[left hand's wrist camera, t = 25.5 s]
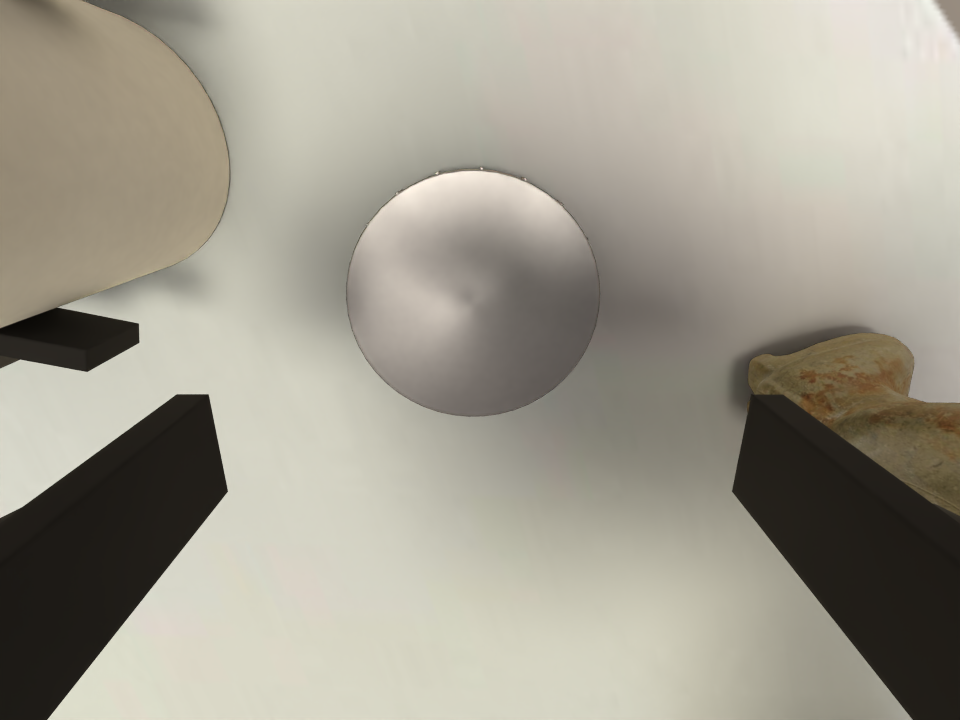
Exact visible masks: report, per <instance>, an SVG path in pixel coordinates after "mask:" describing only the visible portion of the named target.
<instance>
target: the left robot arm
mask: <svg viewBox="0 0 960 720" xmlns="http://www.w3.org/2000/svg"><path fill="white" fill-rule="evenodd" d="M227 492H228V490H227V485H226V480H225V474H224V469H223V464H222V459H221V454H220V449H219V444H218V439H217V434H216V429H215V424H214V419H213V414H212V409H211V404H210V399H209V394H177V395H175V396H174V397H173V398H171V399H170V400H169V401H167V402H166V403H165V404H163V405H162V406H160V407H159V408H158V409H156V410H155V411H154V412H152V413H151V414H149V415H148V416H147V417H145V418H144V419H143V420H141V421H140V422H138V423H137V424H136V425H134V426H133V427H132V428H130V429H129V430H128V431H126V432H125V433H123V434H122V435H121V436H119V437H118V438H117V439H115V440H114V441H112V442H111V443H110V444H108V445H107V446H106V447H104V448H103V449H101V450H100V451H99V452H97V453H96V454H95V455H93V456H92V457H91V458H89V459H88V460H86V461H85V462H84V463H82V464H81V465H80V466H78V467H77V468H75V469H74V470H73V471H71V472H70V473H69V474H67V475H66V476H65V477H63V478H62V479H60V480H59V481H58V482H56V483H55V484H54V485H52V486H51V487H49V488H48V489H47V490H45V491H44V492H43V493H41V494H40V495H38V496H37V497H36V498H34V499H33V500H32V501H30V502H29V503H28V504H26V505H25V506H23V507H22V508H20V509H18V510H16V511H14V512H12V513H10V514H8V515H6V516H4V517H2V518H0V720H47V719H48V718H49V717H50V715H51V714H52V713H53V712H54V710H55V709H56V708H57V707H58V705H59V704H60V703H61V702H62V700H63V699H64V698H65V697H66V695H67V694H68V693H69V691H70V690H71V689H72V688H73V686H74V685H75V684H76V683H77V681H78V680H79V679H80V678H81V676H82V675H83V674H84V673H85V671H86V670H87V669H88V667H89V666H90V665H91V664H92V662H93V661H94V660H95V659H96V657H97V656H98V655H99V654H100V652H101V651H102V650H103V649H104V647H105V646H106V645H107V644H108V642H109V641H110V640H111V638H112V637H113V636H114V635H115V633H116V632H117V631H118V630H119V628H120V627H121V626H122V625H123V623H124V622H125V621H126V620H127V618H128V617H129V616H130V614H131V613H132V612H133V611H134V609H135V608H136V607H137V606H138V604H139V603H140V602H141V601H142V599H143V598H144V597H145V596H146V594H147V593H148V592H149V590H150V589H151V588H152V587H153V585H154V584H155V583H156V582H157V580H158V579H159V578H160V577H161V575H162V574H163V573H164V572H165V570H166V569H167V568H168V566H169V565H170V564H171V563H172V561H173V560H174V559H175V558H176V556H177V555H178V554H179V553H180V551H181V550H182V549H183V548H184V546H185V545H186V544H187V542H188V541H189V540H190V539H191V537H192V536H193V535H194V534H195V532H196V531H197V530H198V529H199V527H200V526H201V525H202V524H203V522H204V521H205V520H206V519H207V517H208V516H209V515H210V513H211V512H212V511H213V510H214V508H215V507H216V506H217V505H218V503H219V502H220V501H221V500H222V498H223V497H224V496H225V495H226V493H227ZM732 492H733V493H734V495H735V496H736V497H737V498H738V500H739V501H740V502H741V503H742V505H743V506H744V507H745V508H746V510H747V511H748V512H749V513H750V515H751V516H752V517H753V519H754V520H755V521H756V522H757V524H758V525H759V526H760V527H761V529H762V530H763V531H764V532H765V534H766V535H767V536H768V537H769V539H770V540H771V541H772V542H773V544H774V545H775V546H776V548H777V549H778V550H779V551H780V553H781V554H782V555H783V556H784V558H785V559H786V560H787V561H788V563H789V564H790V565H791V566H792V568H793V569H794V570H795V572H796V573H797V574H798V575H799V577H800V578H801V579H802V580H803V582H804V583H805V584H806V585H807V587H808V588H809V589H810V590H811V592H812V593H813V594H814V596H815V597H816V598H817V599H818V601H819V602H820V603H821V604H822V606H823V607H824V608H825V609H826V611H827V612H828V613H829V614H830V616H831V617H832V618H833V620H834V621H835V622H836V623H837V625H838V626H839V627H840V628H841V630H842V631H843V632H844V633H845V635H846V636H847V637H848V638H849V640H850V641H851V642H852V644H853V645H854V646H855V647H856V649H857V650H858V651H859V652H860V654H861V655H862V656H863V657H864V659H865V660H866V661H867V662H868V664H869V665H870V666H871V668H872V669H873V670H874V671H875V673H876V674H877V675H878V676H879V678H880V679H881V680H882V681H883V683H884V684H885V685H886V686H887V688H888V689H889V690H890V691H891V693H892V694H893V695H894V697H895V698H896V699H897V700H898V702H899V703H900V704H901V705H902V707H903V708H904V709H905V710H906V712H907V713H908V714H909V715H910V717H911V718H912V719H913V720H960V516H959V515H957V514H955V513H953V512H951V511H949V510H947V509H945V508H943V507H941V506H939V505H937V504H932V503H931V502H930V501H928V500H927V499H926V498H924V497H923V496H922V495H920V494H919V493H917V492H916V491H915V490H913V489H912V488H911V487H909V486H908V485H906V484H905V483H904V482H902V481H901V480H900V479H898V478H897V477H895V476H894V475H893V474H891V473H890V472H889V471H887V470H886V469H885V468H883V467H882V466H880V465H879V464H878V463H876V462H875V461H874V460H872V459H871V458H869V457H868V456H867V455H865V454H864V453H863V452H861V451H860V450H859V449H857V448H856V447H854V446H853V445H852V444H850V443H849V442H848V441H846V440H845V439H843V438H842V437H841V436H839V435H838V434H837V433H835V432H834V431H832V430H831V429H830V428H828V427H827V426H826V425H824V424H823V423H822V422H820V421H819V420H817V419H816V418H815V417H813V416H812V415H811V414H809V413H808V412H806V411H805V410H804V409H802V408H801V407H800V406H798V405H797V404H795V403H794V402H793V401H791V400H790V399H789V398H787V397H786V396H785V395H783V394H751V399H750V404H749V409H748V414H747V419H746V424H745V429H744V434H743V439H742V444H741V449H740V454H739V459H738V464H737V469H736V474H735V480H734V485H733V490H732Z"/></svg>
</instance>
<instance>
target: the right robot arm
mask: <svg viewBox="0 0 960 720" xmlns="http://www.w3.org/2000/svg"><path fill="white" fill-rule="evenodd" d="M138 343H139V324H138V323H133V322H128V321H123V320H118V319H113V318H107V317H102V316H97V315H92V314H87V313H82V312H77V311H72V310H67V309H62V308H54V309H51V310H48V311H46V312H43V313H40V314H37V315H35V316H32V317H29V318H26V319H24V320H21V321H18V322H15V323H13V324H10V325H7V326H4V327H2V328H0V368H2V367H4V366H7V365H9V364H11V363H13V362H16V361H18V360H20V359H21V360H27V361H32V362H37V363H43V364H48V365H53V366H59V367H64V368H69V369H75V370H80V371H85V372H88V371H90V370H91V369H93V368H95V367H97V366H99V365H100V364H102V363H104V362H106V361H108V360H109V359H111V358H113V357H115V356H116V355H118V354H120V353H122V352H124V351H125V350H127V349H129V348H131V347H133V346H134V345H136V344H138Z"/></svg>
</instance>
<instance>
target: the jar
mask: <svg viewBox="0 0 960 720" xmlns="http://www.w3.org/2000/svg"><path fill="white" fill-rule="evenodd" d="M229 170H230V169H229V158H228V150H227V146H226V141H225V137H224V133H223V130H222V127H221V124H220V121H219V118H218V116H217V114H216V111H215V109H214V107H213V105H212V103H211V101H210V99H209V97H208V95H207V94H206V92H205V91H204V89H203V87H202V86H201V84H200V82H199V81H198V80H197V78H196V77H195V76H194V74H193V73H192V72H191V70H190V69H189V68H188V66H187V65H186V64H185V63H184V62H183V61H182V60H181V59H180V58H179V57H178V56H177V55H176V54H175V52H174V51H173V50H171V49H170V48H169V47H168V46H167V45H166V44H164V43H163V42H162V41H161V40H160V39H159V38H157V37H156V36H154V35H153V34H152V33H150V32H149V31H147V30H146V29H144V28H143V27H141V26H140V25H138V24H136V23H134V22H132V21H130V20H128V19H126V18H125V17H122V16H120V15H117V14H115V13H112V12H110V11H107V10H105V9H102V8H99V7H97V6H94V5H92V4H89V3H87V2H84V1H82V0H0V328H2V327H4V326H7V325H10V324H13V323H15V322H18V321H21V320H24V319H26V318H29V317H32V316H35V315H37V314H40V313H43V312H46V311H48V310H51V309H54V308H57V307H59V306H62V305H65V304H68V303H70V302H73V301H76V300H79V299H81V298H84V297H87V296H90V295H92V294H95V293H98V292H101V291H103V290H106V289H109V288H112V287H114V286H117V285H120V284H122V283H125V282H128V281H131V280H133V279H136V278H139V277H142V276H144V275H147V274H150V273H153V272H155V271H158V270H161V269H164V268H166V267H169V266H172V265H175V264H177V263H179V262H180V261H182V260H184V259H186V258H188V257H189V256H190V255H192V254H193V253H194V252H196V251H197V250H198V249H199V248H200V247H201V246H202V245H203V244H204V243H205V242H206V241H207V240H208V239H209V237H210V236H211V234H212V233H213V231H214V230H215V229H216V227H217V225H218V222H219V220H220V218H221V216H222V214H223V211H224V207H225V204H226V201H227V195H228V189H229Z"/></svg>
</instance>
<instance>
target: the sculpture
mask: <svg viewBox="0 0 960 720" xmlns="http://www.w3.org/2000/svg"><path fill="white" fill-rule="evenodd" d="M913 369H914V357H913V355H912V353H911V352H910V350H909V349H908V348H907V347H906V346H905V345H904V344H903V343H901V342H900V341H899V340H897V339H896V338H894V337H891V336H887V335H883V334H875V333H858V334H851V335H846V336H842V337H838V338H834V339H830V340H827V341H824V342H821V343H818V344H815V345H813V346H810V347H808V348H806V349H803V350H801V351H798V352H795V353H792V354H789V355H782V356H773V355H771V354H763V355H759V356H756V357H755V358H753V359H752V360H751V361H750V364H749V371H748V384H749V386H750V387H751V389H752V391H753V393H754V394H783V395H785V396H786V397H787V398H789V399H790V400H791V401H793V402H794V403H795V404H797V405H798V406H800V407H801V408H802V409H804V410H805V411H806V412H808V413H809V414H811V415H812V416H813V417H815V418H816V419H817V420H819V421H820V422H822V423H823V424H824V425H826V426H827V427H828V428H830V429H831V430H832V431H834V432H835V433H837V434H838V435H839V436H841V437H842V438H843V439H845V440H846V441H848V442H849V443H850V444H852V445H853V446H854V447H856V448H857V449H859V450H860V451H861V452H863V453H864V454H865V455H867V456H868V457H869V458H871V459H872V460H874V461H875V462H876V463H878V464H879V465H880V466H882V467H883V468H885V469H886V470H887V471H889V472H890V473H891V474H893V475H894V476H895V477H897V478H898V479H900V480H901V481H902V482H904V483H905V484H906V485H908V486H909V487H911V488H912V489H913V490H915V491H916V492H917V493H919V494H920V495H922V496H923V497H924V498H926V499H927V500H928V501H930V502H931V503H932V504H937V505H939V506H941V507H943V508H945V509H947V510H949V511H951V512H953V513H955V514H957V515H959V516H960V403H926V402H923V401H920V400H916V399H913V398H910V397H908V392H909V387H910V382H911V378H912V374H913ZM749 404H750V401H749V402H748V404H747V412H748V409H749Z"/></svg>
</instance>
